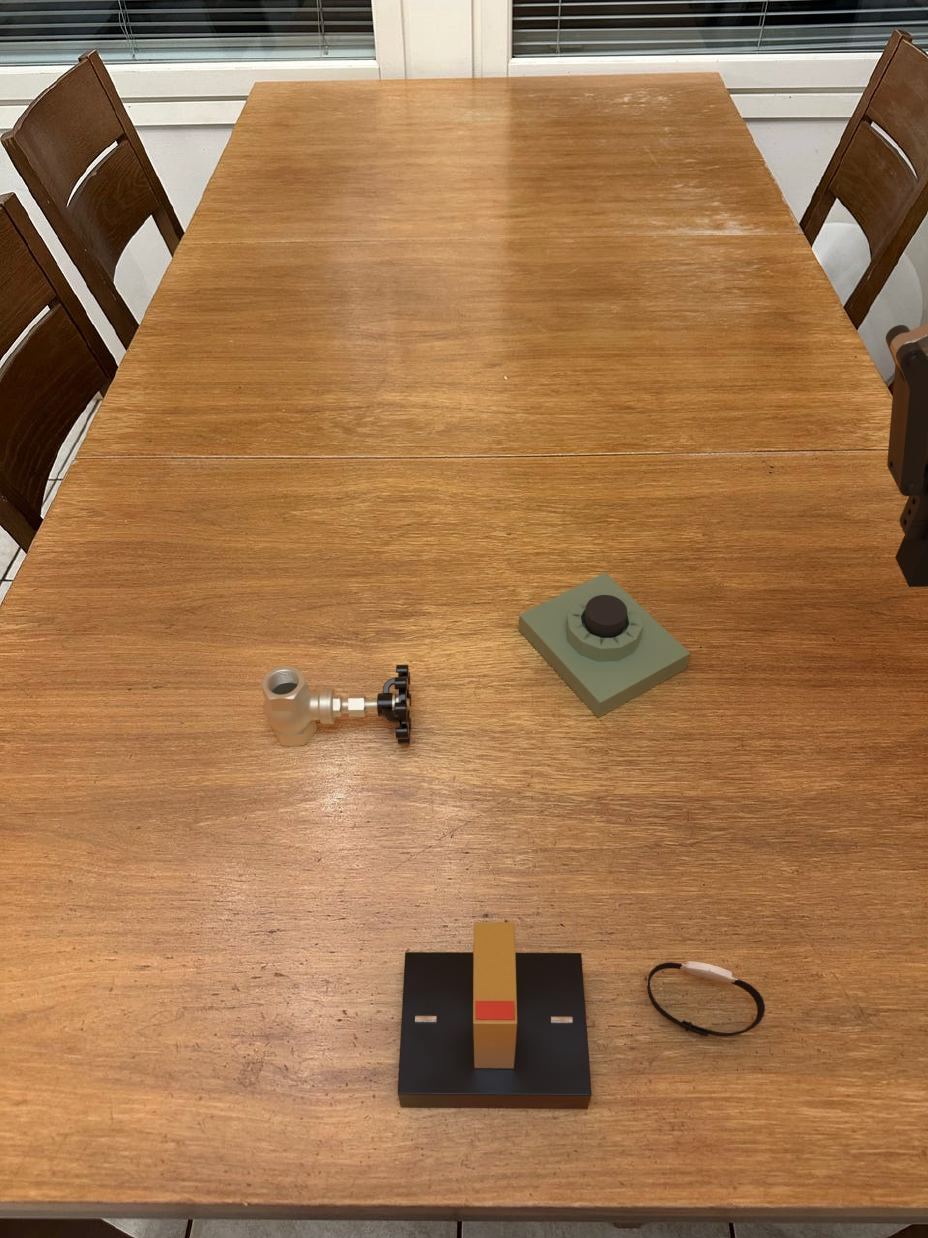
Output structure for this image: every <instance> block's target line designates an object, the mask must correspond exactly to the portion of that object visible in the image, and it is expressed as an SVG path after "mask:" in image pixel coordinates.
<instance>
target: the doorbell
mask: <svg viewBox="0 0 928 1238" xmlns="http://www.w3.org/2000/svg"><path fill="white" fill-rule="evenodd" d="M599 595H611V596H614V597H617V598H619V599H620V600H621V601H623V602H624V604H625V605H626V607H627V617H626V623H625V628H624V630H623V631H622V632H621V633H620V634H619V635H617V636H615V637H611V638H602V637H598V636H595V635H593V634H592V633H590V632H589V631H588V630H587V628H586V627H585V624H584V618H585V610H586V605H587V603H588V601H589V600H590V599H592V598H593V597H596V596H599ZM518 631H519V633H520V634H521V635H522V636H523V637H524V638H525V640H526V641H528V643H529V644H530V645H531V646H532V647H533V648H534V649H535V650H536V651H537V652H538V653H539V655H540V656H541V657H542V658H543V659H544V660H545V662H546V663H547V664H548V665H549V666H550V667H551V668H552V670H553V671H555V672H556V673H557V675H558V676H559V677H560V678H561V679H562V680H563V681H564V682H565V684H566V685H567V686H568V687H569V688H570V689H571V690H572V691H573V692H574V693H575V694H576V696H577V697H578V698H579V699H580V700H581V701H582V702H583V703H584V705H585V706H586V707H587V708H588V709H589V710H590V711H591V712H592V713H593V715H594V716H595V717H596V718H598V719H599V718H600V717H602V716H603V715H606V714H608V713H609V712H611V711H613V710H615V709H617V708H618V707H620V706H623V705H624V704H625V703H627V702H630V701H631V700H633V699H635V698H636V697H638V696H640V695H641V694H642V695H643V694H644V693H645V692H647V691H649V690H650V689H652V688H654V687H656V686H658V685H660V684H661V683H663V682H665V681H667V680H668V679H671V678H672V677H674V676H676V675H678V674H680V673H682V672H683V671H685V670H687V669H688V664H689V660H690V656H691V652H690V651H689V650H688V649H687V648H686V647H685V646H684V645H682V644H681V642H679V640H677V638H675V637H674V636H673V635H672V634H671V633H670V632H669V631H668V630H667V629H666V628H665V627H663V625H662V624H660V623H659V622H658V621H657V620H656V619H655V618H654V617H653V616H652V615H651V614H650V613H649V612H648V611H647V610H646V609H645V608H644V607H643V606H642V605H641V604H640V603H639V602H638V601H637V600H635V598H634V597H632V596H631V595H630V594H629V593H628V592H627V591H626V590H625V589H624V588H623V587H622V586H621V585H620V584H619V583H618V582H616V581H615V579H613V577H612V576H610V574H608V573H607V572H603V573H602V574H601V573H600V574H599V575H596V576H595V577H593V578H591V579H589V580H588V581H587V580H586V581H585V582H583V583H581V584H579V585H577V586H575V587H573V588H571V589H569V590H566V591H565V592H562V593H560V594H558V595H557V596H555V597H552V598H550V599H548V600H546V601H543V602H542V603H540V604H538V605H536V606H535V607H532V608H530V609H528V610H526V611H523V612H521V613H519V615H518Z"/></svg>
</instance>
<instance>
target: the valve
mask: <svg viewBox="0 0 928 1238" xmlns="http://www.w3.org/2000/svg"><path fill="white" fill-rule="evenodd" d="M395 672H396V673H397V676H395V677H392V678H390V679H387V681H386V682H385V683H384V684H383V686H382V687H383V688H382V692H378V693H377V697H376V698H367V695H366V694H365V693H350V694H349V695H348V697H347V698H343V695H342V694H341V693H336V690H335V688H334V687H322V688H320V690H319V691H311V690H310V688H309V683H308V681H307V679H306V678H305V675H304V674H303V673H302V671H301V669H300V668H299V666H293V665H280V666H274V667H272V669H270V670H269V672H267V673H266V675H264V677H263V678H262V680H261V681H260V682H259V686H260V688H261V689H260V690H261V692H262V696H263V697H264V701H263V712H264V716H265V718H266V720H267V722H268V723H269V725H270V726H271V727H272V731H273V732H274V734H275V737H277V740H278V742H279V743H280V745H281V746H283V747H300V746H305V745H306V744H308V743H309V741H310V740H311V739H312V738H313V736H314V735H315V734H316V732H317V730H318V724H317V721H320V724H321V725H334V724H335V722H336V718H342V716H343V714H345V713H346V714H347V713H348V717H349V718H365V717H366V716H367V712H377V717H378V718H384V719H385V720H386V721H388V722H391V723H395V724H396V723H397V724H399V725H398V726H399V727H398V726H397V727H395V739H397V744H398V745H410V744H411V731H412V726H413V725H412V717H411V710H410V709H411V707H412V703H413V702H412V701H413V700H412V699H413V698H412V693H411V692H410V685H411V671H410V667H409V664H396V665H395ZM392 686H394V690H395V691H397V690H398V693H397V692H390V689H391V687H392Z"/></svg>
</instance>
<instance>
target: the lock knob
mask: <svg viewBox="0 0 928 1238" xmlns="http://www.w3.org/2000/svg"><path fill="white" fill-rule="evenodd" d="M472 947H473V948H472V949H473V951H472V952H473V1038H474V1067H475V1068H514V1062H515V1048H516V1034H517V991H516V953H517V952H516V924H515V922H473V946H472Z"/></svg>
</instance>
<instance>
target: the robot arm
mask: <svg viewBox="0 0 928 1238" xmlns="http://www.w3.org/2000/svg"><path fill="white" fill-rule="evenodd" d="M885 342H886V345H887V348H888V350H889V353H890V354H891V357H892V360H893V362H894V364H895V365H894V375H893V376H894V377H893V388H892V399H891V413H890V423H889V435H888V436H889V437H888V450H887V451H888V452H887V459H886V460H887V461H886V466H887V468H888V469H887V470H889V473H890V475H891V476H892V477H891V478H892V479H893V480H894V483H895V484H896V487H897V489H898V490H899V492H900V494H901V495H902V496H903V497H907V500H906V502H905V505H904V508H903V510H902V512H901V514H900V517H899V525H900V528H901V530H902V531H903V534H904V536H903V538H902V541H901V543H900V545H899V547H898V550H897V552H896V554H895V556H894V559H895V561H896V562H897V565H898V567H899V569H900V571H901V573H902V576H903V578H904V581H905V582H906V584H907V586H908V588H928V321H927V322H925V323H924V324H922V325H919V326H917V327H915V328H914V329H912V330H910V328H909V327H908V326H907V325H905V324H898V325H895V326H893V327H892V328H891V329H889V330H888V331H887V333H886V335H885Z"/></svg>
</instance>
